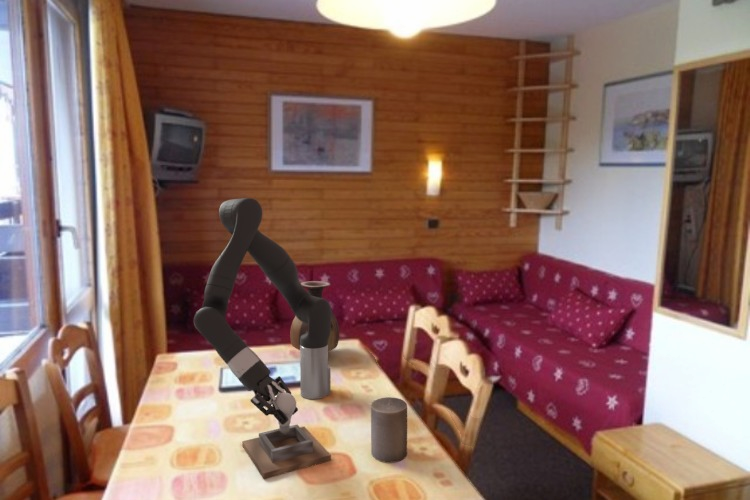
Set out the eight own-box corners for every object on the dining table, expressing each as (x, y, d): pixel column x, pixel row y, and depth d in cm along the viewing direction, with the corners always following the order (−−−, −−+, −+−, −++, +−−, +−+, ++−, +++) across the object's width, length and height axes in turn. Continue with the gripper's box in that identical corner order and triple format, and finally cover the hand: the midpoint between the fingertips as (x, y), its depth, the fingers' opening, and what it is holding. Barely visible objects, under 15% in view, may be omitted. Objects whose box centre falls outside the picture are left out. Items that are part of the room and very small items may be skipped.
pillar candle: (411, 447, 148) (411, 395, 146) (401, 465, 139) (401, 409, 137) (377, 442, 151) (377, 390, 149) (365, 459, 142) (365, 404, 140)
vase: (315, 369, 204) (315, 291, 200) (277, 359, 215) (276, 285, 210) (351, 353, 223) (351, 281, 219) (314, 344, 234) (314, 276, 230)
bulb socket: (304, 431, 156) (304, 416, 156) (330, 460, 141) (330, 444, 140) (242, 446, 148) (242, 430, 147) (263, 479, 132) (263, 461, 132)
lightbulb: (291, 439, 140) (291, 399, 138) (269, 437, 141) (268, 396, 140) (299, 429, 146) (299, 390, 144) (277, 426, 147) (277, 387, 146)
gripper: (244, 369, 136) (288, 421, 134) (270, 351, 149) (310, 398, 148) (225, 387, 138) (269, 438, 136) (252, 367, 152) (292, 414, 150)
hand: (290, 417), depth 142 cm, fingers closed on lightbulb, 5 cm apart
